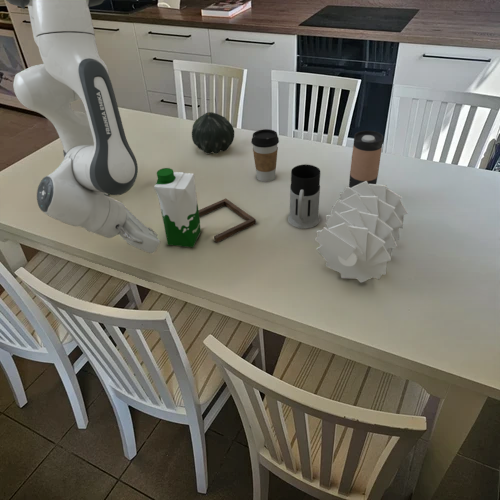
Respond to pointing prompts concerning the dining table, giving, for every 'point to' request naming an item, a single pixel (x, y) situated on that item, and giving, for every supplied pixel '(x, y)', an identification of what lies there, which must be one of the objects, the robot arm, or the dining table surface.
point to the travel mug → (365, 157)
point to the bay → (237, 210)
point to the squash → (212, 133)
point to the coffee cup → (265, 153)
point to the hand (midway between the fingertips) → (153, 234)
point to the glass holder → (304, 196)
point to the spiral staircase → (362, 231)
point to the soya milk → (178, 207)
